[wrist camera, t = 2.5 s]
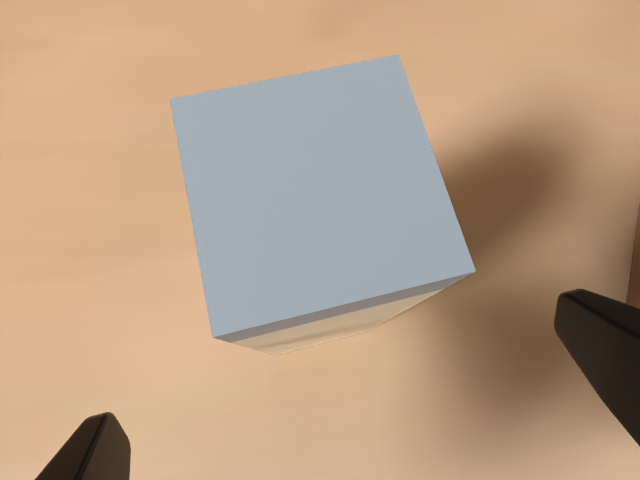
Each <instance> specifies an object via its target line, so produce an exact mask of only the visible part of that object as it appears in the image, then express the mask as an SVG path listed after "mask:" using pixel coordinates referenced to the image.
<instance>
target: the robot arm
mask: <svg viewBox="0 0 640 480" xmlns="http://www.w3.org/2000/svg"><path fill="white" fill-rule="evenodd" d="M554 328H555V331H556V333H557V335H558V337H559V338H560V340H561V341H562V343H563V344H564V346H565V347H566V349H567V350H568V351H569V353H570V354H571V356H572V357H573V359H574V360H575V362H576V363H577V365H578V366H579V368H580V369H581V371H582V372H583V374H584V375H585V377H586V378H587V380H588V381H589V383H590V384H591V385H592V387H593V388H594V390H595V391H596V393H597V394H598V395H599V397H600V398H601V399H602V401H603V402H604V403H605V405H606V406H607V407H608V408H609V410H610V411H611V412H612V413H613V415H614V416H615V417H616V418H617V419H618V421H619V422H620V423H621V424H622V425H623V427H624V428H625V429H626V430H627V431H628V433H629V434H630V435H631V436H632V438H633V439H634V440H635V441H636V442H637V444H638V445H639V446H640V308H637V307H634V306H631V305H628V304H625V303H622V302H619V301H616V300H614V299H611V298H608V297H605V296H602V295H599V294H596V293H593V292H590V291H587V290H584V289H575V290H571V291H567V292H563V293H561V294H560V295H559V297H558V300H557V307H556V313H555V319H554ZM130 456H131V448H130V442H129V439H128V437H127V435H126V434H125V432H124V430H123V429H122V427H121V425H120V424H119V422H118V420H117V419H116V417H115V416H114V414H112V413H110V412H106V413H102V414H98V415H94V416H91V417H88V418H87V419H85V420H84V421H83V422H82V424H81V425H80V426H79V427H78V428H77V430H76V431H75V432H74V433H73V434H72V436H71V437H70V438H69V439H68V440H67V442H66V443H65V444H64V445H63V446H62V448H61V449H60V450H59V451H58V452H57V454H56V455H55V456H54V457H53V458H52V460H51V461H50V462H49V463H48V464H47V466H46V467H45V468H44V469H43V470H42V472H41V473H40V474H39V475H38V476H37V478H36V479H35V480H129V477H130Z"/></svg>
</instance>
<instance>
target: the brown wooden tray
mask: <svg viewBox="0 0 640 480" xmlns="http://www.w3.org/2000/svg"><path fill="white" fill-rule="evenodd" d="M626 304H628V305H631V306H634V307H637V308H640V206H639V213H638V221H637V228H636V236H635V243H634V251H633V258H632V266H631V273H630V281H629V288H628V296H627V303H626Z"/></svg>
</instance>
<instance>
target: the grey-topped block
mask: <svg viewBox="0 0 640 480" xmlns="http://www.w3.org/2000/svg"><path fill="white" fill-rule="evenodd" d="M170 103H171V108H172V114H173V120H174V125H175V131H176V136H177V142H178V148H179V153H180V159H181V164H182V170H183V176H184V181H185V187H186V192H187V198H188V204H189V209H190V215H191V220H192V226H193V231H194V237H195V243H196V248H197V254H198V259H199V265H200V271H201V276H202V282H203V287H204V293H205V299H206V304H207V310H208V315H209V321H210V326H211V332H212V337H213V338H216V339H220V340H223V341H227V342H230V343H233V344H237V345H240V346H244V347H247V348H251V349H254V350H258V351H261V352H265V353H268V354H272V355H275V356H276V355H280V354H284V353H288V352H291V351H295V350H299V349H303V348H307V347H311V346H315V345H319V344H322V343H326V342H330V341H334V340H338V339H342V338H346V337H350V336H353V335H357V334H361V333H365V332H367V331H369V330H371V329H373V328H375V327H376V326H378V325H380V324H382V323H384V322H385V321H387V320H389V319H391V318H393V317H395V316H396V315H398V314H400V313H402V312H404V311H405V310H407V309H409V308H411V307H413V306H414V305H416V304H418V303H420V302H422V301H423V300H425V299H427V298H429V297H431V296H432V295H434V294H436V293H438V292H440V291H441V290H443V289H445V288H447V287H449V286H451V285H452V284H454V283H456V282H458V281H460V280H461V279H463V278H465V277H467V276H469V275H470V274H472V273H474V272H476V270H475V267H474V264H473V262H472V259H471V256H470V253H469V250H468V248H467V245H466V242H465V239H464V236H463V234H462V231H461V228H460V225H459V223H458V220H457V217H456V214H455V211H454V209H453V206H452V203H451V200H450V197H449V195H448V192H447V189H446V186H445V184H444V181H443V178H442V175H441V172H440V170H439V167H438V164H437V161H436V159H435V156H434V153H433V150H432V147H431V145H430V142H429V139H428V136H427V133H426V131H425V128H424V125H423V122H422V120H421V117H420V114H419V111H418V108H417V106H416V103H415V100H414V97H413V94H412V92H411V89H410V86H409V83H408V81H407V78H406V75H405V72H404V69H403V67H402V64H401V61H400V58H399V55H393V56H388V57H383V58H378V59H373V60H368V61H363V62H358V63H352V64H347V65H342V66H337V67H332V68H327V69H322V70H317V71H311V72H306V73H301V74H296V75H291V76H286V77H281V78H275V79H270V80H265V81H260V82H255V83H250V84H245V85H240V86H234V87H229V88H224V89H219V90H214V91H209V92H204V93H199V94H193V95H188V96H183V97H178V98H173V99H170Z"/></svg>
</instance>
